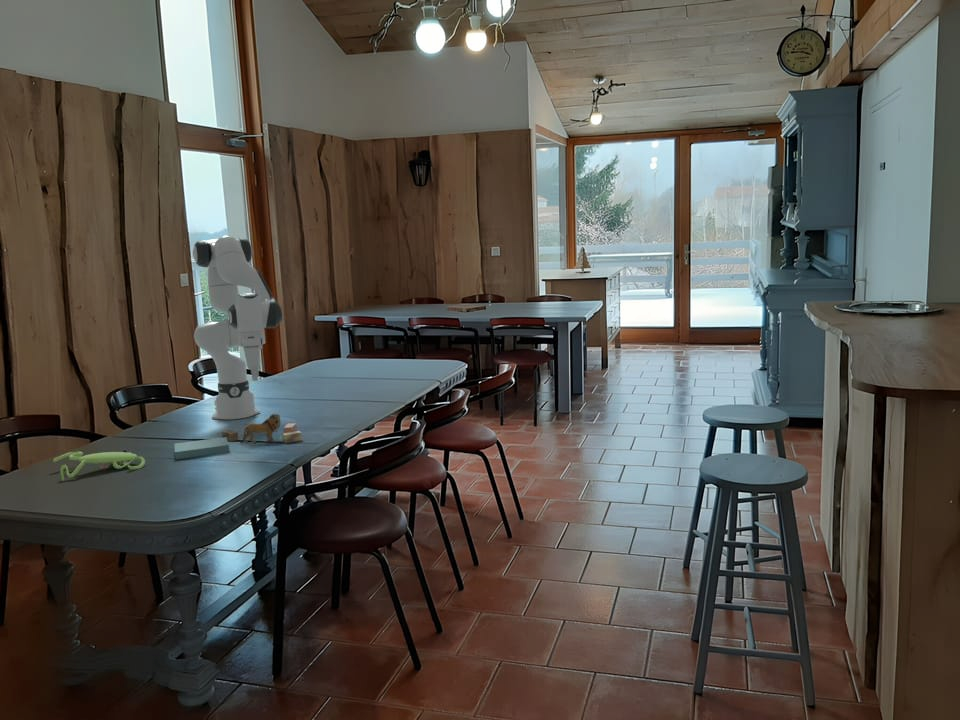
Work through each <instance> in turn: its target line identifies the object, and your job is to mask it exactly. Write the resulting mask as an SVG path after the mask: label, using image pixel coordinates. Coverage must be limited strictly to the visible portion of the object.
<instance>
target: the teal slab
mask: <svg viewBox="0 0 960 720" xmlns="http://www.w3.org/2000/svg"><path fill="white" fill-rule="evenodd" d="M229 446H230V444H229V441H227V438H226V437H222V436H221V437H217V438H209V439H201V440H192V441H191V440H190V441H184V442H178V443H177V442H176V443H174V456H175V460H183V459H188V458H195V457H203V456H210V455H218V454H226V453H230V447H229Z"/></svg>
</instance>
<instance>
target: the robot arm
mask: <svg viewBox="0 0 960 720" xmlns="http://www.w3.org/2000/svg"><path fill="white" fill-rule="evenodd" d="M192 257H193V260H194V262H195V264H196V265H197V266H199V267H201V268H208V269H207V284H208V294H209V304H210V306H211V308H213V310H215V311H217V312H219V313H222V314H224V315H226V316H227V317H228V320H220V321H209V322H204V323H202V324H198V325H197V326H196V328H195V329H194V334H193V339H194V341H195V344H196V345H197V347H199V348H200V349H202V350H204V351H205V353H207V354H208V355H209V356H210V357H211V358H212V360H213V362H214V363H215V367H216V372H217V379H218V382H217V391H218V395H217V396H216V397H215V399H214V400H213V401H214V402H213V403H214V406H215V411H214V412H213V414H212V415H211V419H213V420H214V419H215V420H217V419H218V420H238V419H245V418H250V417H253V416H255V415H258V414H260V413H261V411H260V409H258V408H256V404H255V397H254V396H255V395H254V393H253V392H251V391H250V390H249V389H250V382H249V380H248V379H247V378H248V375H247V373H248V372H247V369H249V370H250V373H251V378H252V379H251V380H252V382H256V381H259V380H258V379H259V376H260V375H259V371H260V370H259V367H260V365H261V352H260V351H261V350H262V349H263V345H265V344H266V332H265V329H275V328H277V327H278V326H279V325H280V324H281V322H282V321H283V312H282V311H283V310H282V308H281V305H280V303H279V302H278V301H277V300H276V298H275V297H274V295H273V293H272V292H271V290H270V288H269V285H268V284H267V282H266V280H265V279H264V276H263V275H262V273H261V272H260V270H259V269H257V268H255V267H253V266H252V265H251V264H250V262H251V261H252V257H253V247H252V245H251V243H250V241H249V240H248V239H246V238H242V237H238V238H235V237H233V236H230V235H223V236H221V237H219V238H212V239H206V240H205V239H200V240H198V241H196V242H195V243H194V245H193V249H192ZM238 286H239V287H244V288H247V289H248V288H249V289H251V290H253V291H254V292H242V293H239V288H238ZM231 348H232V349H233V348H243V352H244V357H245V360H244V359H242V358H241V357H239V356H237V355H234V354H231V353H230V352H229V349H231Z"/></svg>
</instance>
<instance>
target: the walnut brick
mask: <svg viewBox="0 0 960 720" xmlns="http://www.w3.org/2000/svg"><path fill="white" fill-rule="evenodd" d="M220 434H221V438H222V437H226V438H227V441H228V442H235V441H239V438H240V437H239V432H238V431H235V430H231V429H227V430H222V431H221V433H220Z"/></svg>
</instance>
